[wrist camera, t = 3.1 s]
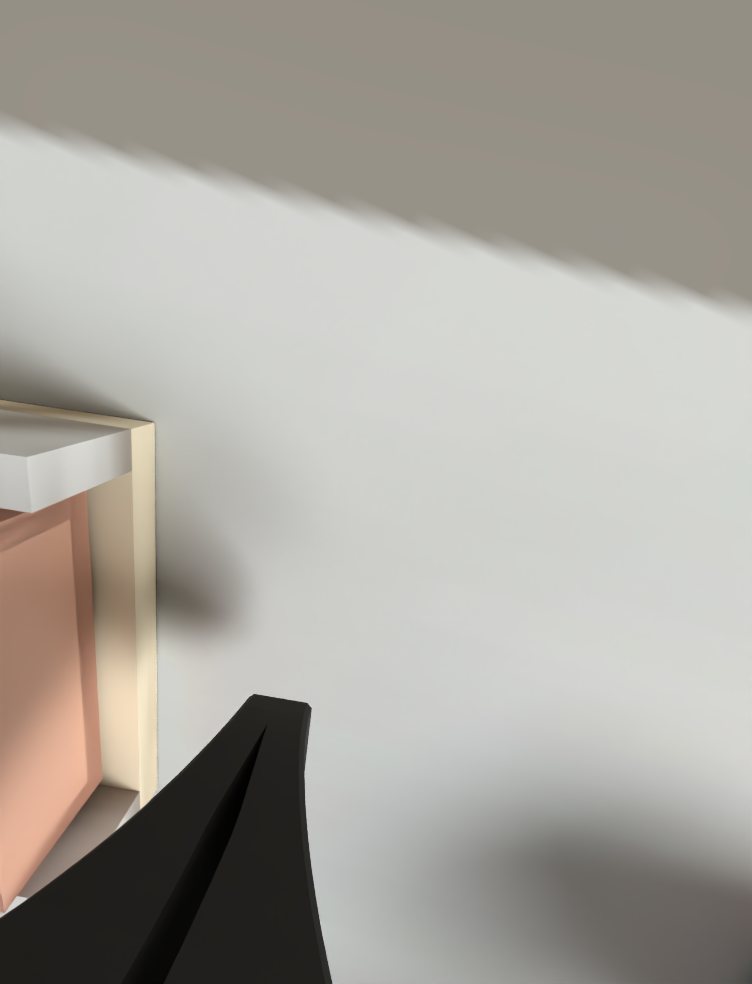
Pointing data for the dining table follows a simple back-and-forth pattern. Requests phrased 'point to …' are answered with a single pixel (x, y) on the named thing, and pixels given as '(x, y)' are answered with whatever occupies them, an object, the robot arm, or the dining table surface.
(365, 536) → the dining table surface
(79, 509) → the crate
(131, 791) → the bay
